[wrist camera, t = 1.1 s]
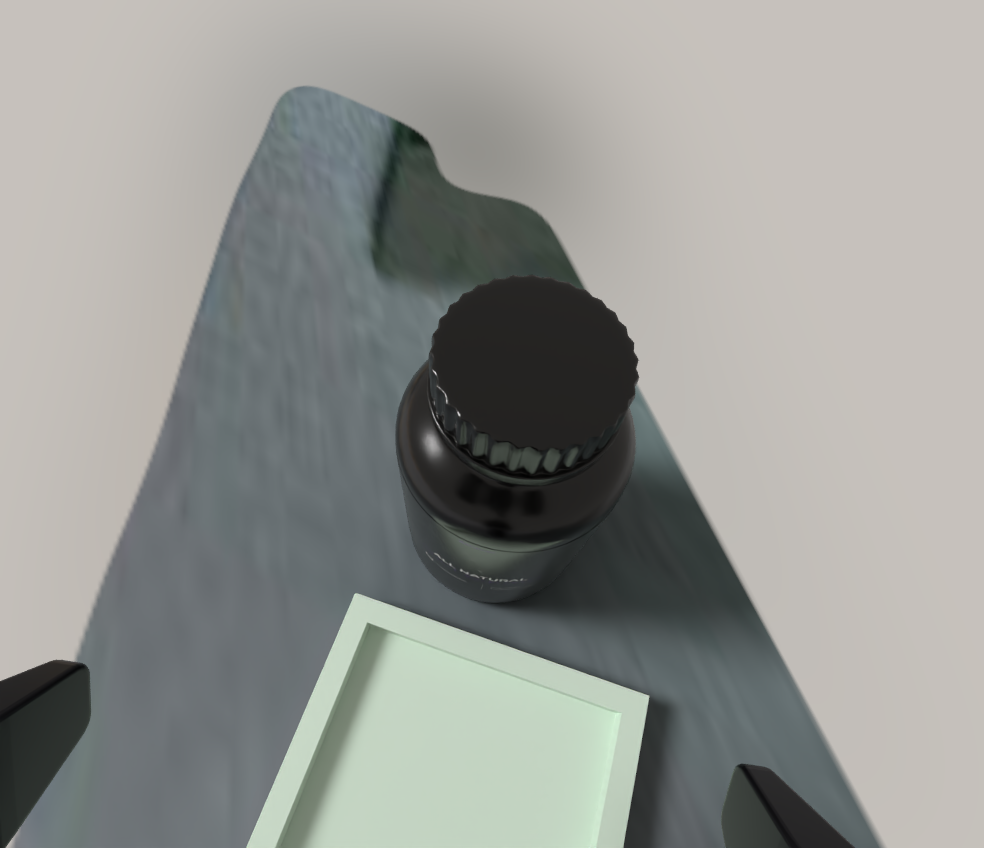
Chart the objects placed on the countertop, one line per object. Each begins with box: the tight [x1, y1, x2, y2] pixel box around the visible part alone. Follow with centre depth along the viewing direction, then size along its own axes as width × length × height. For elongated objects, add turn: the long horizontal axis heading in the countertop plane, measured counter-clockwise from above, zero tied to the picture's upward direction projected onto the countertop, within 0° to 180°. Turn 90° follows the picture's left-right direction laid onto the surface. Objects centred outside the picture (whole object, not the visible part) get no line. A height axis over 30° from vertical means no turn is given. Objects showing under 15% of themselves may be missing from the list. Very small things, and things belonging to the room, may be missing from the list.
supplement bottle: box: [396, 275, 639, 603], centre depth 18 cm, size 7×7×12 cm
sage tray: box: [246, 593, 649, 848], centre depth 18 cm, size 11×11×1 cm
